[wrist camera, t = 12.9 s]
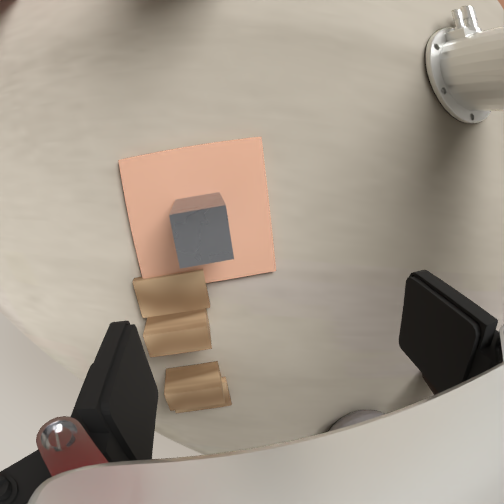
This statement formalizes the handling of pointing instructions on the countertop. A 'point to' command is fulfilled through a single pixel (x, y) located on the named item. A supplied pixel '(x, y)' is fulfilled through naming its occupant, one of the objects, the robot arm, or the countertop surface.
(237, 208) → the terracotta tile
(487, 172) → the countertop surface
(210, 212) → the metal block
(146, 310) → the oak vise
